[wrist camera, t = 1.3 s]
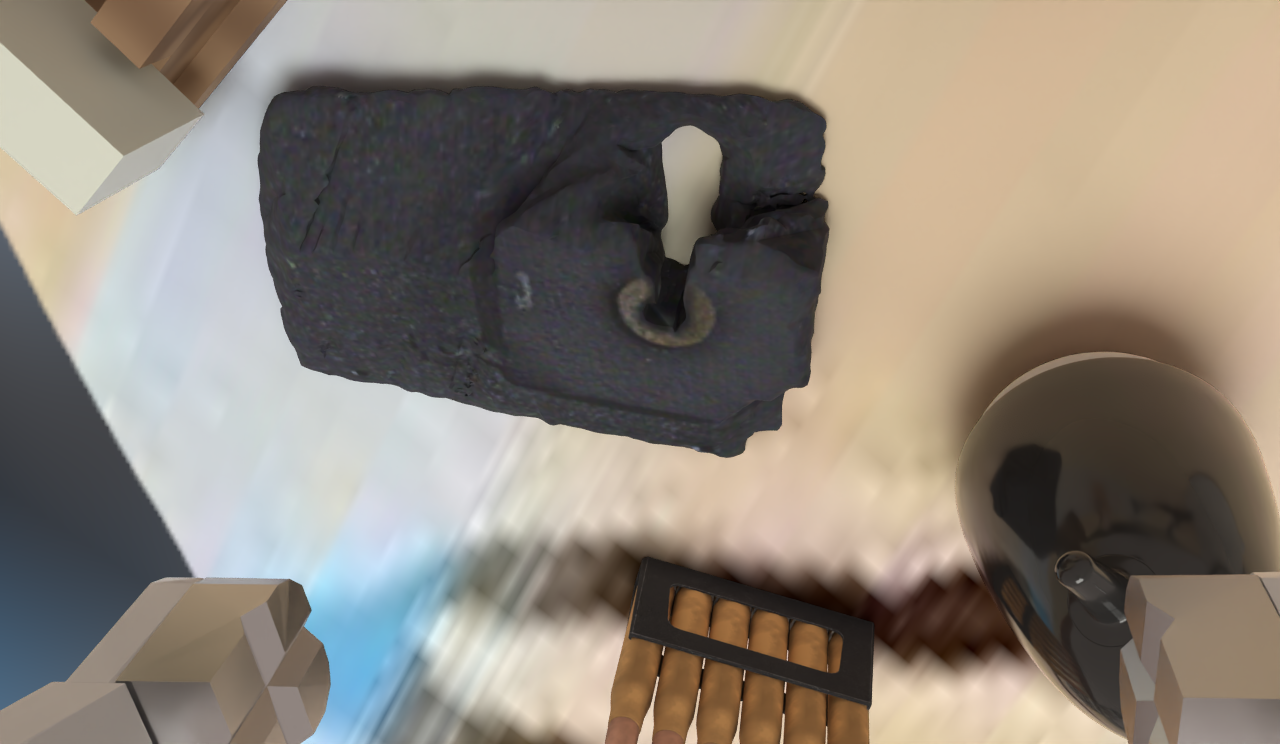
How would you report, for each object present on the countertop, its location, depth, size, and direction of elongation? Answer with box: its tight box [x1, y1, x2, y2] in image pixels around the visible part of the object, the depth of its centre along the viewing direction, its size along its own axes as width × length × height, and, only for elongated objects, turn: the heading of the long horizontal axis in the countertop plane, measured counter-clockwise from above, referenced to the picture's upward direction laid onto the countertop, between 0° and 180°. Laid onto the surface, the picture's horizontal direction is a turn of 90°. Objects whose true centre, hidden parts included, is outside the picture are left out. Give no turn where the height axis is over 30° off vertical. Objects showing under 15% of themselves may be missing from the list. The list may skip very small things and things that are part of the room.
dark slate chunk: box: [258, 86, 829, 458], centre depth 42 cm, size 15×22×5 cm
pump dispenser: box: [955, 352, 1280, 740], centre depth 36 cm, size 10×10×15 cm
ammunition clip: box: [605, 557, 874, 744], centre depth 44 cm, size 11×2×12 cm, turn 77°
